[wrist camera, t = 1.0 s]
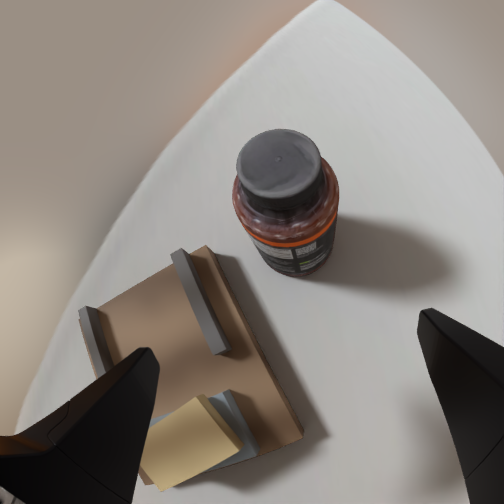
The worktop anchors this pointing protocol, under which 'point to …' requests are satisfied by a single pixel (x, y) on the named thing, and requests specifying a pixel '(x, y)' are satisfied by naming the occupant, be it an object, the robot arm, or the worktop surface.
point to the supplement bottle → (287, 200)
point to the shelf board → (194, 370)
